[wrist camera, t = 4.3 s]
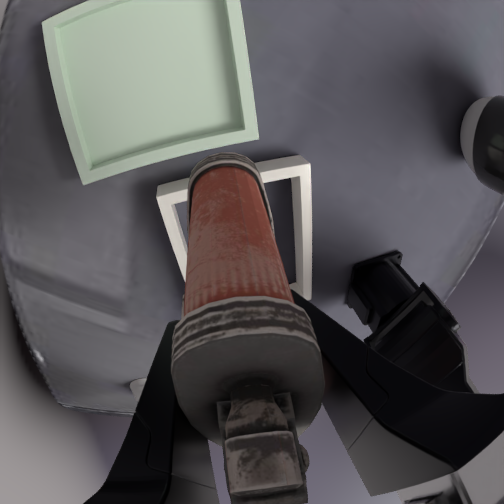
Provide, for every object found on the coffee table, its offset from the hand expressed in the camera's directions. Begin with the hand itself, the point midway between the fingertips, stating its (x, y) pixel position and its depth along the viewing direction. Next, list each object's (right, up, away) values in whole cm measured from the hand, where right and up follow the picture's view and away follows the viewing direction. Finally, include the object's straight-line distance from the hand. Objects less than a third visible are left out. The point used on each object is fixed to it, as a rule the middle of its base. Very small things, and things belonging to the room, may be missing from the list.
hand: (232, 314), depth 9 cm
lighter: (0, +3, +3) cm, 4 cm away
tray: (-6, +13, +6) cm, 16 cm away
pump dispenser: (+25, +16, +13) cm, 32 cm away
